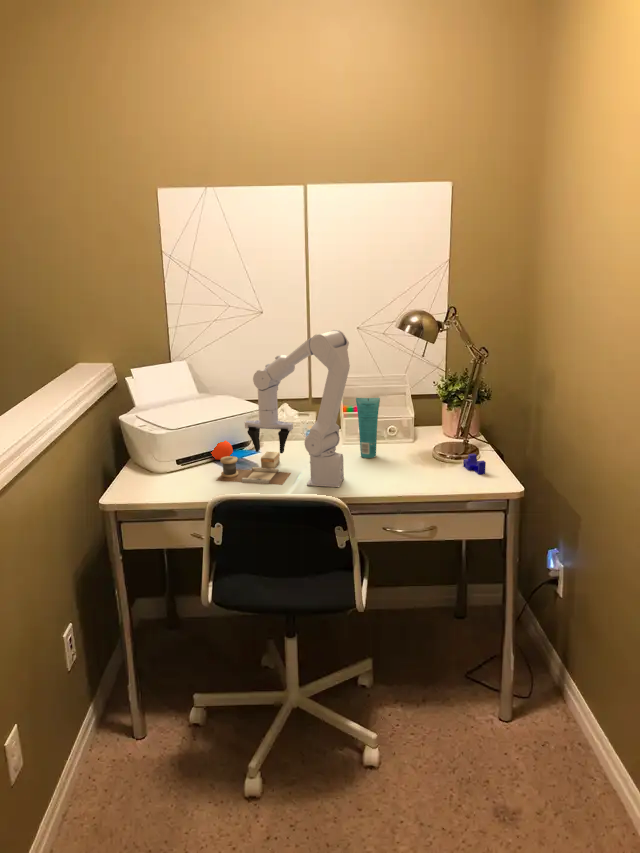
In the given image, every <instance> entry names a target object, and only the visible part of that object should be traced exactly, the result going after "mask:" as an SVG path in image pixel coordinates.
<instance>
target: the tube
mask: <svg viewBox="0 0 640 853" xmlns="http://www.w3.org/2000/svg"><path fill="white" fill-rule="evenodd" d="M380 400H381V397H355V402H356V411H357V420H358V434H359V450H360V457H361V458H364V459H373V458H375V457H376V456H377V442H378V441H377V437H378V434H377V433H378V421H379V420H378V419H379V408H380V402H381V401H380Z"/></svg>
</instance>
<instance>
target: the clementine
mask: <svg viewBox="0 0 640 853" xmlns="http://www.w3.org/2000/svg"><path fill="white" fill-rule="evenodd" d="M232 453H234V450H233V446H232V444H231V443H230V442H228V441H227V440H225V441H224V442H220V443H218V444H217V446H216V447H215V448H214V450H213V451H212V452H211V451H210V454H212V455H211V456H213V457H215V459H214V460H220V459H221V458H223V457H226V456H230V455H231V454H232ZM232 455H233V454H232ZM213 457H212V458H213Z"/></svg>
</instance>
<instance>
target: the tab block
mask: <svg viewBox="0 0 640 853" xmlns="http://www.w3.org/2000/svg"><path fill="white" fill-rule="evenodd" d="M280 454H281V453H280V451H265V452H264V454H263V455H262V456H261V457H260V468H275V469H277V468H278V467H277V466H279V464H280V463H281V462H280V460H281V459H280Z"/></svg>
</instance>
